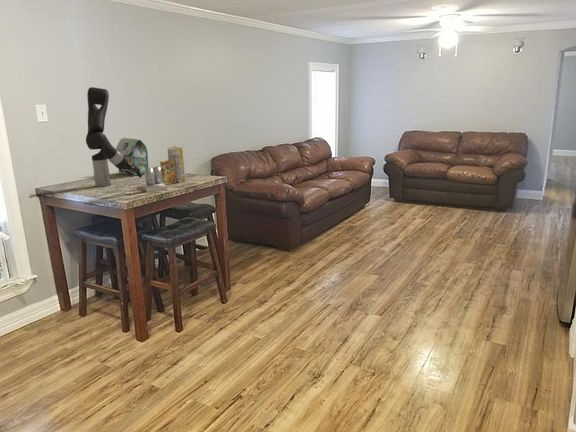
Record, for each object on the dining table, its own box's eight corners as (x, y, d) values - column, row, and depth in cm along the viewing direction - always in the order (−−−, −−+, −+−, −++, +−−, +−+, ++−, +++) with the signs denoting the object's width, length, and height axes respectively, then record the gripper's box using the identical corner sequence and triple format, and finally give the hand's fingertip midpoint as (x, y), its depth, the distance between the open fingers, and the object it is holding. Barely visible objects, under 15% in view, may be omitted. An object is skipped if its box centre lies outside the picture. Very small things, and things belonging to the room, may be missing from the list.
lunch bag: (115, 174, 340) (111, 138, 333) (135, 171, 352) (131, 136, 345) (132, 177, 325) (127, 139, 318) (152, 173, 337) (148, 137, 330)
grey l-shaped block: (147, 192, 271) (144, 173, 268) (142, 188, 284) (140, 170, 281) (167, 189, 276) (165, 171, 273) (161, 185, 289) (160, 168, 286)
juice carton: (187, 180, 304) (184, 145, 298) (180, 182, 297) (176, 146, 291) (176, 179, 308) (173, 144, 302) (169, 182, 301) (165, 146, 295)
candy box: (166, 185, 291) (164, 161, 287) (162, 184, 293) (159, 161, 289) (176, 182, 298) (174, 159, 294) (172, 182, 300) (170, 159, 296)
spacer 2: (155, 184, 277) (153, 168, 274) (154, 183, 281) (152, 167, 278) (162, 183, 279) (161, 167, 276) (161, 182, 282) (159, 166, 280)
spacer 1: (147, 186, 272) (145, 169, 269) (146, 184, 276) (144, 168, 273) (155, 185, 274) (153, 168, 271) (153, 184, 278) (151, 168, 275)
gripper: (129, 154, 250) (147, 171, 262) (112, 153, 258) (131, 170, 270) (122, 165, 247) (141, 181, 260) (106, 163, 255) (125, 180, 267)
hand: (136, 175), depth 265 cm, fingers open, 8 cm apart
